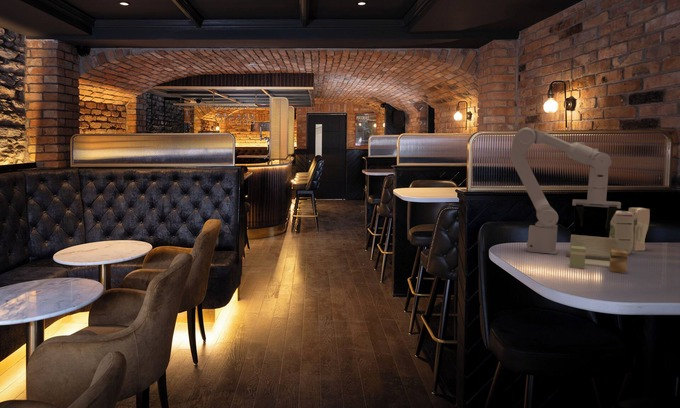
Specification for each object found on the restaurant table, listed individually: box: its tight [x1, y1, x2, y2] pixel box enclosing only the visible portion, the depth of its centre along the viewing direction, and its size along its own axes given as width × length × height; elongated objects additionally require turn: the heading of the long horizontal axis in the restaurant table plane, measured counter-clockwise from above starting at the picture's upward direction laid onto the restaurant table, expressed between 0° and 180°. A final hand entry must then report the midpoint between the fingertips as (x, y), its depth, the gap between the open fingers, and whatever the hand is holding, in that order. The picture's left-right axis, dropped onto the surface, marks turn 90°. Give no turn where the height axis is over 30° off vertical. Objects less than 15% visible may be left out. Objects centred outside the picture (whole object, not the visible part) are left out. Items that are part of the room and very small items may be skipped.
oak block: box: [608, 250, 629, 274], centre depth 150 cm, size 4×4×6 cm
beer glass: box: [628, 207, 651, 252], centre depth 182 cm, size 7×7×15 cm
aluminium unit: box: [565, 234, 619, 261], centre depth 167 cm, size 16×5×7 cm, turn 66°
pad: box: [585, 259, 610, 268], centre depth 159 cm, size 10×7×1 cm
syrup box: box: [608, 210, 633, 255], centre depth 177 cm, size 6×6×14 cm
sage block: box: [569, 246, 586, 270], centre depth 155 cm, size 4×4×6 cm
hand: (594, 227), depth 171 cm, fingers open, 7 cm apart
